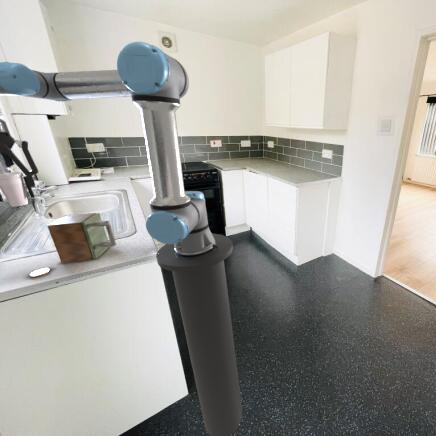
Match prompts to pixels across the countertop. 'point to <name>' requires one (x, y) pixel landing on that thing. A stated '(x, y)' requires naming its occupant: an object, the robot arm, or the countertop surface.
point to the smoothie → (13, 187)
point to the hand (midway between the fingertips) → (17, 198)
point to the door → (98, 235)
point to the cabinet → (71, 238)
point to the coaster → (40, 272)
